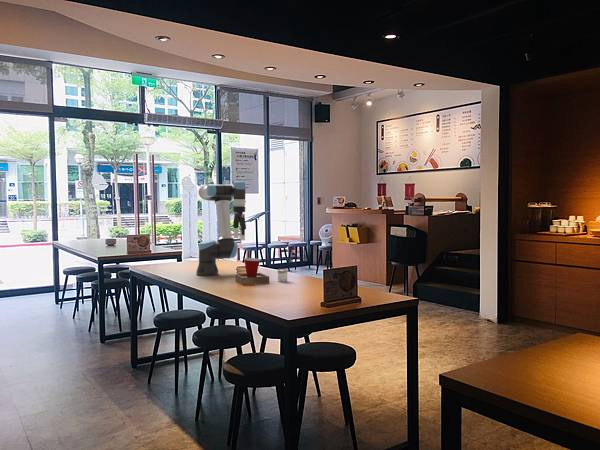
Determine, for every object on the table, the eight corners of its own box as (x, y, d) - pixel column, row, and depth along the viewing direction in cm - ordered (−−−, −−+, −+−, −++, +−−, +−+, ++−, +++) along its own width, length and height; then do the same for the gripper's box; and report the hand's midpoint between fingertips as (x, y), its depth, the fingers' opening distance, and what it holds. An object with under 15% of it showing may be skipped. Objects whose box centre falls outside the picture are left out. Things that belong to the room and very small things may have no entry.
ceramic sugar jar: (276, 280, 328) (276, 269, 328) (285, 280, 331) (285, 269, 330) (279, 282, 322) (279, 271, 322) (289, 281, 324) (289, 270, 324)
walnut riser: (235, 280, 327) (235, 274, 327) (260, 279, 334) (260, 272, 334) (243, 285, 312) (242, 278, 311) (269, 283, 318) (269, 276, 318)
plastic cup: (259, 278, 317) (259, 259, 316) (242, 278, 317) (242, 259, 317) (261, 276, 328) (261, 257, 327) (244, 276, 328) (244, 257, 328)
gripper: (251, 206, 315) (251, 240, 317) (239, 205, 338) (239, 236, 339) (239, 206, 312) (239, 241, 314) (228, 205, 335) (228, 237, 336)
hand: (239, 239), depth 327 cm, fingers open, 13 cm apart
